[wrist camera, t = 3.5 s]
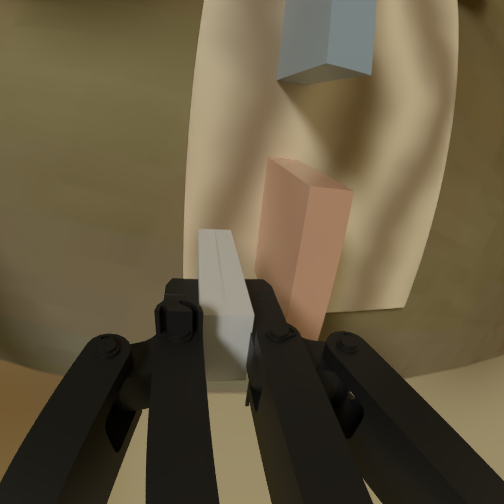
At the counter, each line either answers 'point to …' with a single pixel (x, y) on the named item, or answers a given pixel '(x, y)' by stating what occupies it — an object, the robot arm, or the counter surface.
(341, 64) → the tile blue
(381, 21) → the board
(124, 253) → the counter surface
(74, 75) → the counter surface
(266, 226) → the pink square tile
